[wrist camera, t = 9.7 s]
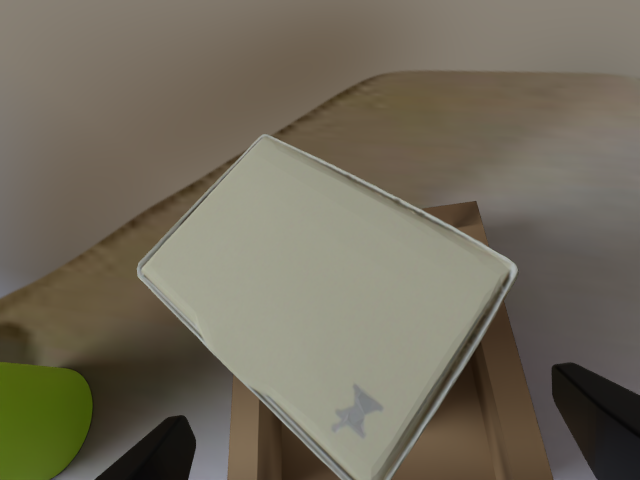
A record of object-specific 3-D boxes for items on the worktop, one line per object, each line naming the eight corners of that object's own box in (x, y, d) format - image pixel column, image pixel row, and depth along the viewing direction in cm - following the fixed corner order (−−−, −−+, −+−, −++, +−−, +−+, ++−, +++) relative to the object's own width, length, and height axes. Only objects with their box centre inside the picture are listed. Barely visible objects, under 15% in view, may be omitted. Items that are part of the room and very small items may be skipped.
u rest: (524, 484, 14) (561, 510, 11) (262, 487, 16) (225, 509, 13) (463, 236, 19) (476, 201, 16) (266, 261, 21) (241, 234, 18)
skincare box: (452, 358, 16) (553, 271, 5) (399, 441, 15) (390, 540, 4) (342, 282, 19) (261, 119, 8) (292, 348, 18) (121, 268, 7)
